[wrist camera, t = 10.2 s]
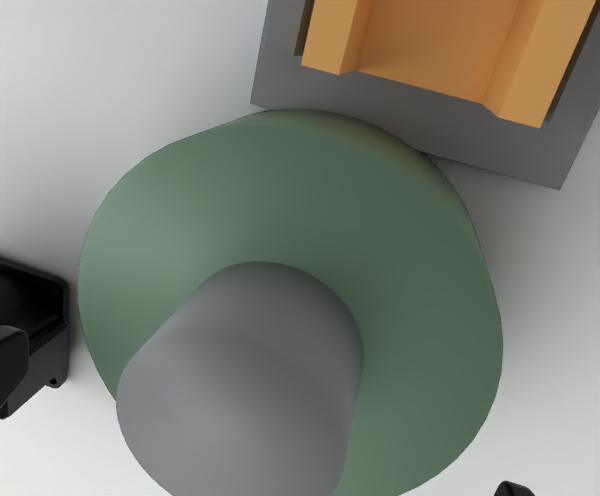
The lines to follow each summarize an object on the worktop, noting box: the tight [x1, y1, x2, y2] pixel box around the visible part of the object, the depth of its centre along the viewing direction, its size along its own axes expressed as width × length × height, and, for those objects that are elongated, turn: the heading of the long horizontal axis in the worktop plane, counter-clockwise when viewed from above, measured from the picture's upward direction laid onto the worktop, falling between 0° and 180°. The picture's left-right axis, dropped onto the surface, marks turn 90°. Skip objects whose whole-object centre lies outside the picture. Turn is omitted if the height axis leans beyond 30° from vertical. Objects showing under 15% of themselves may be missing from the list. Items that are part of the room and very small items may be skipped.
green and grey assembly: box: [78, 0, 600, 496], centre depth 13 cm, size 14×30×9 cm, turn 167°
